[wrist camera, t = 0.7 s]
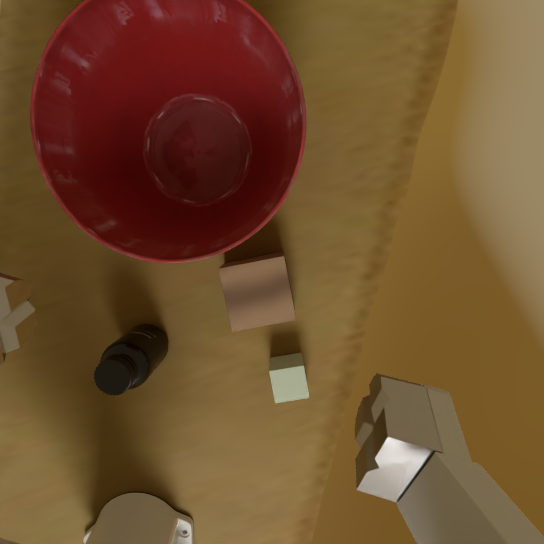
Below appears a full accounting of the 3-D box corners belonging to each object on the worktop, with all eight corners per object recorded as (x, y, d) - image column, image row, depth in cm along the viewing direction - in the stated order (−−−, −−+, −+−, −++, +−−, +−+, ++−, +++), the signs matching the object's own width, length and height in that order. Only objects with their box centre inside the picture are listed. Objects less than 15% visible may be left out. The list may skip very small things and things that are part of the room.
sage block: (306, 381, 58) (309, 397, 53) (275, 386, 58) (275, 403, 53) (301, 352, 57) (303, 365, 52) (270, 357, 57) (269, 371, 52)
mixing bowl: (74, 73, 51) (-13, 13, 36) (273, 19, 49) (270, -67, 34) (132, 267, 55) (76, 288, 40) (317, 224, 54) (332, 228, 38)
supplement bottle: (158, 316, 56) (126, 344, 44) (176, 355, 57) (149, 392, 45) (118, 331, 57) (76, 363, 45) (137, 370, 58) (100, 411, 46)
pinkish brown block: (294, 308, 56) (296, 320, 50) (237, 319, 56) (232, 331, 50) (283, 251, 54) (283, 256, 49) (224, 262, 55) (218, 268, 49)
